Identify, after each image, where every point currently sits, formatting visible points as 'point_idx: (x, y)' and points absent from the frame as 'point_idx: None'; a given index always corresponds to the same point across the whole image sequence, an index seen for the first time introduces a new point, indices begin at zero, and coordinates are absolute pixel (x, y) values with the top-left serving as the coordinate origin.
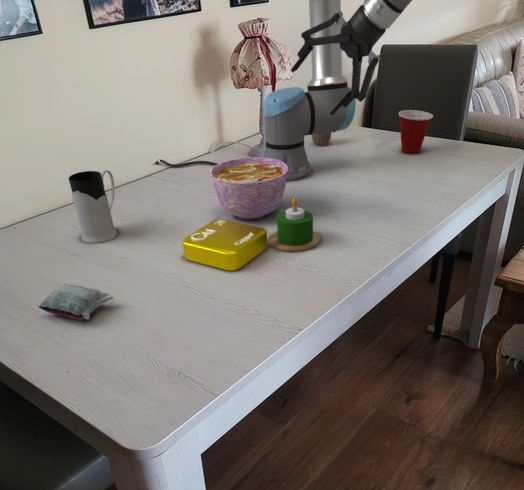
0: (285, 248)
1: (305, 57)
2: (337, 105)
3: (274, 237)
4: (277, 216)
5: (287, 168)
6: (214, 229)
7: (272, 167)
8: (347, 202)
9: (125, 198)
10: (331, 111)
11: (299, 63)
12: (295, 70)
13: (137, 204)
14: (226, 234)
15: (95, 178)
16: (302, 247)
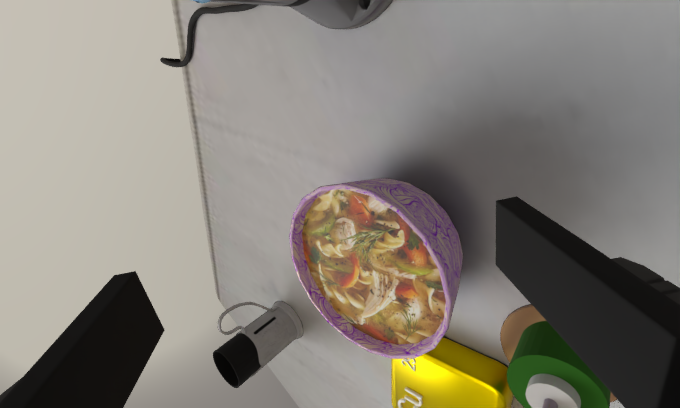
0: None
1: (80, 400)
2: (544, 311)
3: (513, 347)
4: (510, 387)
5: (438, 265)
6: (414, 384)
7: (383, 210)
8: (653, 88)
9: (232, 209)
10: (505, 274)
11: (129, 393)
12: (147, 303)
13: (255, 226)
14: (442, 405)
15: (238, 380)
16: None
